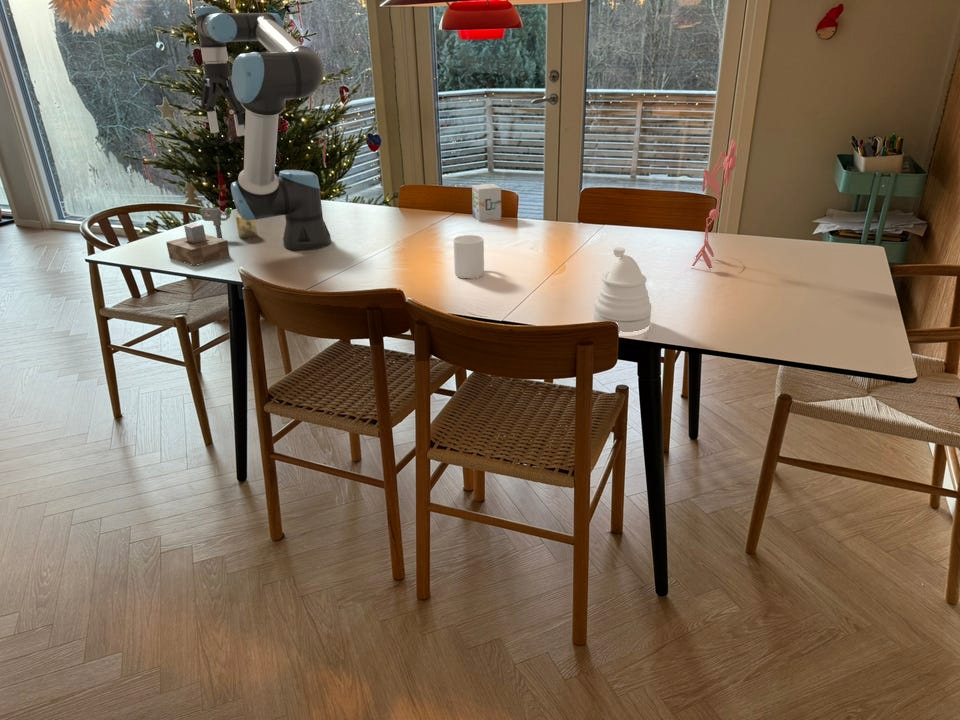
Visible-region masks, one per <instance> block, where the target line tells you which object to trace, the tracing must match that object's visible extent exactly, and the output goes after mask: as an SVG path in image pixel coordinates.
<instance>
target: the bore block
mask: <svg viewBox="0 0 960 720" xmlns="http://www.w3.org/2000/svg"><path fill="white" fill-rule="evenodd" d="M205 236H206V242H203V243H199V244H195V245H192V244H189V243H187V238H186V236H185V237H181V238H177V239H173V240H168V241H166V242H165V243H166V246H167V251H168V252H167V253H168V255H169V258H170V259H172V260H175V261H177V262H181V263H184V262H185V263H184V264H187V263H188V264H187V265H190V264H192V265H191V266H193V265H196V266H198V265H197V264H200V265H202V264H201V263H204V264H207V263H210V261H211V262H214V261H217V259H218V260H221V259H220V258H222V259H224V257H225V258H229V257H230V256H231V255H230V249H229V244H228V240H226V239H223V238H221V239H220V238H217V236H212V235H210V234H209V235H208V234H206V233H205ZM228 256H229V257H228ZM213 260H214V261H213ZM206 262H207V263H206Z"/></svg>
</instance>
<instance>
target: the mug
mask: <svg viewBox="0 0 960 720" xmlns="http://www.w3.org/2000/svg"><path fill="white" fill-rule="evenodd" d="M484 240H485V238H484V237H482V236H479V235H475V234H467V235H459V236H456V237H455V238H453V260H454V262H453V263H454V264H453V265H454V274H455V276H456V277H457V276H458V277H457V278H459V277H460V278H459V279H462V278H468V279H467V280H470V279H469V278H475V279H478V278H477V277H479V278H481V277H483V275H484V273H485V256H484V255H485V249H484V248H485V247H484V244H485V243H484V242H485V241H484ZM480 276H481V277H480Z"/></svg>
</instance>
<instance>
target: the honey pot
mask: <svg viewBox="0 0 960 720" xmlns="http://www.w3.org/2000/svg"><path fill="white" fill-rule="evenodd" d="M612 249H613V255H614V256H615V257H616V258H618V259H617V260H616V262H614V264H613V265H612V267H611V269H610V270H609V271H607V272H605V273H603V274H602V275H601V277H600V278H601V282H603V284H602V287H600V290H599V293H598V295H597V298H596V300H595V303H594V308H593V309H594V311H593V321H614V322H617V323H618V325H619V332H620V331H622V332H633V331H639V330H642V329H645V328H646V327H648V326H649V325H650V326H651V316H652V314H651V313H652V303H651V302H650V296H649V291H648V289H647V286H646V283H647V277H646V276H645V275H644V274H643V273H642V271H641V269H640V267H639V265H638V263H637V262H636V260H635V259H634V258H633V257H631V256H630V255H625V252H626V248H625V247H620V246H617V247H613V248H612Z"/></svg>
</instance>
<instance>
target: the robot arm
mask: <svg viewBox="0 0 960 720" xmlns="http://www.w3.org/2000/svg"><path fill="white" fill-rule="evenodd" d="M194 15H195V18H194V21H195V23H196V30H197V33H198V34H197V35H198V39H199V44H200V51H201V53H200V54H201V58H202V61H203V62H205V63H204V64H203V69H204V75H205V76H206V77H208V78H202V86H203V88H202V96H201V104H200V107H201V109H202V110H204V111H205V112H206V114H207V115H206V116H207V121H208V124H209V130H210V133H211V134H216V133H220V129H219V123H218V117H217V112H216V108H215V107H216V104H217V101H218V98H219V96H222V97H225V100H226V101H227V102H228V104H229V106H230V107H231V109H232V110H233V118H234V126H235V132H236V133H235V134H236V137H242V136H244V149H243V151H244V155H243V157H244V158H243V169H242V170H241V171H240V172H239V174H238V178H237V181H234V182H233V181H232V183H230V191H231V196H232V201H233V202H234V206H235V208H236V211H237V213H238V215H240V216H241V218H242V219H244V220H255V221H256V220H263V219H268V218H273V217H279V216H280V217H281V216H285V226H284V230H283V231H284V232H283V237H282V242H283V243H282V244H283V247H284V248H285V249H287V250H292V251H293V250H295V251H310V250H311V251H312V250H316V249H320V248H325V247H328V246H329V245H331V243H332V239H331V237H332V236H331V233H330V232H329V229H328V226H327V225H326V222H325V219H324V216H323V215H324V214H323V207H322V206H323V205H322V199H321V198H322V197H321V186H320V182H319V177H318V175H317V174H315V173H314V172H312V171H307V170H297V169H283V170H280V171H279V172H278V173H279V174H278V175H277V174H276V173H275V169H276V155H277V143H278V131H279V130H278V129H279V128H278V127H279V115H280V114H281V113H282V112H284V110H285V109H286V101H288V100H289V101H290V100H299V99H305V98H307V97H310V96H311V95H313V94H314V93H316V91H318V89H319V88H320V87H321V85H322V83H323V80H324V76H325V75H324V74H325V68H324V64H323V62H322V59H321V57H319V55H318V53H316V52H315V51H314V50H313V49H312V48H310V47H309V46H306V45H302V44H301V43H299V42H298V40H296V39H295V38H294V37H293V36H292V35H291V34H290V33H289V32H287V31H286V30H285V25H284V21H283V20H282V17H281V15H279V13H274V12H268V11H267V12H249V13H248V12H247V13H246V12H244V13H243V12H240V13H239V12H231V13H229V12H227V13H224V12H222V11H221V8H220V7H219V6H196V7H195V8H194ZM230 42H231V43H232V42H259V43H260V44H261V46H263V47H264V48H265V49H266V50H267V51H268V52H257V51H252V52H251V51H250V52H246V53H240V54H238V55H237V56H236V57H235V59H234V60H233V64H232V69H231V67H230V64H229V62H228V61H229V57H228V55H229V54H228V51H227V49H228V48H227V43H230ZM230 76H231V79H229V77H230ZM244 113H245V116H244ZM244 117H245V119H244Z"/></svg>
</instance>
